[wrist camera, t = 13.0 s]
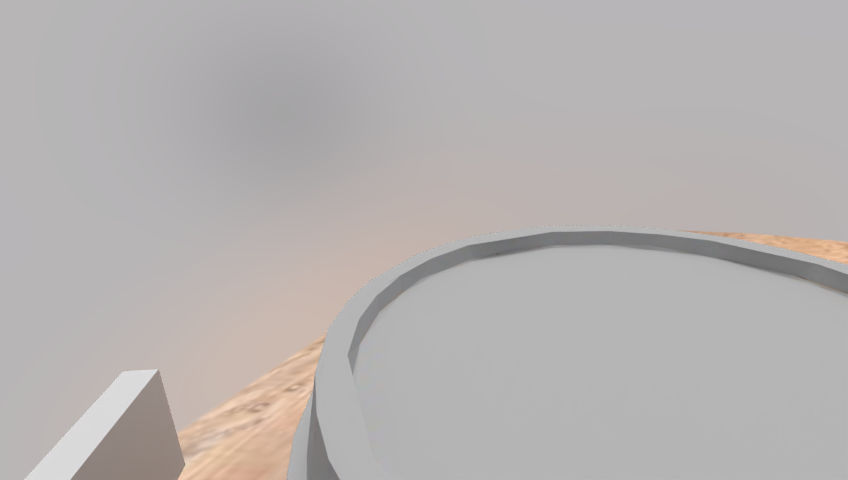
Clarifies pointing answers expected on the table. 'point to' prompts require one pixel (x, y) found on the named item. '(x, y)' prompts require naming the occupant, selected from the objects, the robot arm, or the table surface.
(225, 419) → the table surface
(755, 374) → the disposable coffee cup
